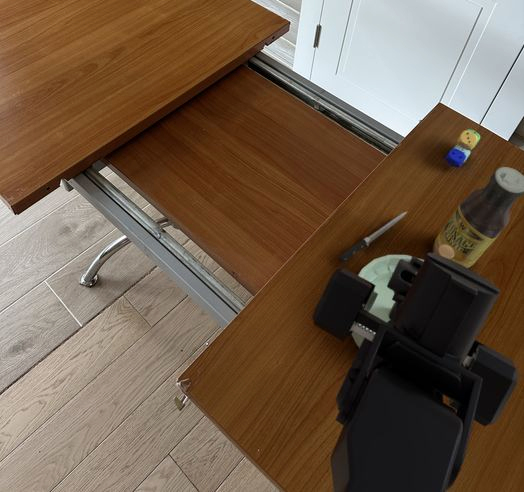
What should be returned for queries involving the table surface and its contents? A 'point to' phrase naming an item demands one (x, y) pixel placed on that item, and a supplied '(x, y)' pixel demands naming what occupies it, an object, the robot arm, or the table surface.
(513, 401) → the table surface
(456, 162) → the dice
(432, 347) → the robot arm
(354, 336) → the bowl
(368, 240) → the knife
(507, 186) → the sauce bottle
